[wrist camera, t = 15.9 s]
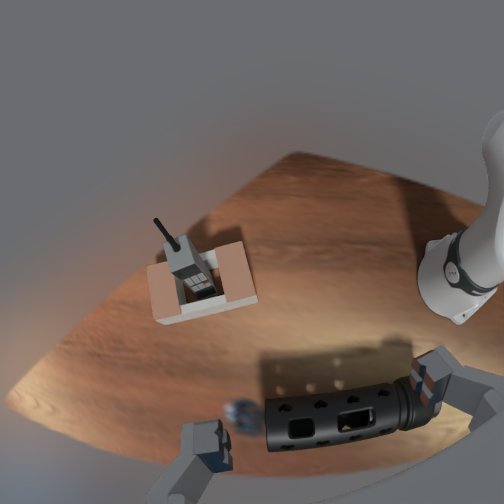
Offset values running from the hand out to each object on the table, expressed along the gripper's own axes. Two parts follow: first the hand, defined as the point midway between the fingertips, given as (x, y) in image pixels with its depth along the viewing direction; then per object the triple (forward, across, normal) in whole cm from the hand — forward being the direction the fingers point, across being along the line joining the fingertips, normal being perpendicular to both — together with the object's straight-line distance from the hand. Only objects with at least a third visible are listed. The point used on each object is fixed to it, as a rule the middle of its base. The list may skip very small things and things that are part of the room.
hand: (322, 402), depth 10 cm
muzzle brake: (+22, -8, +36) cm, 43 cm away
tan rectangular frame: (+43, +11, +15) cm, 46 cm away
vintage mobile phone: (+43, +11, +15) cm, 47 cm away
